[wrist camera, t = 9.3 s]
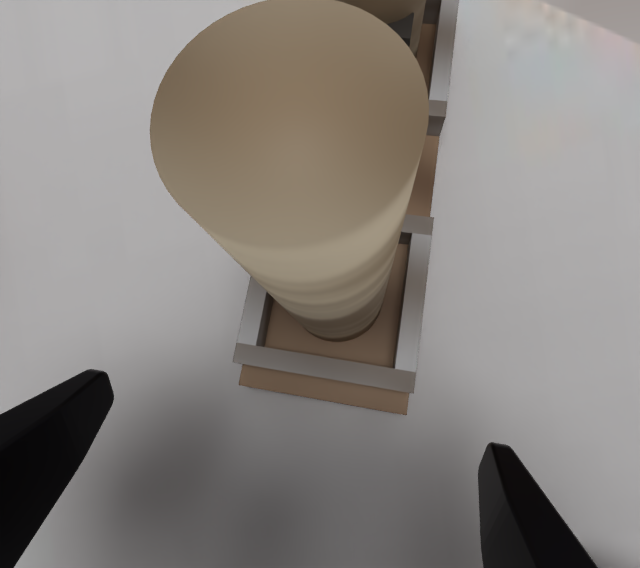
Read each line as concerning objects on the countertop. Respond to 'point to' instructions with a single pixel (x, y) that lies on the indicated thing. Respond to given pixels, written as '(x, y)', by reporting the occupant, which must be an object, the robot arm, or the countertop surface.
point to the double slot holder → (401, 293)
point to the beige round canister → (297, 151)
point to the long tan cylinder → (397, 17)
